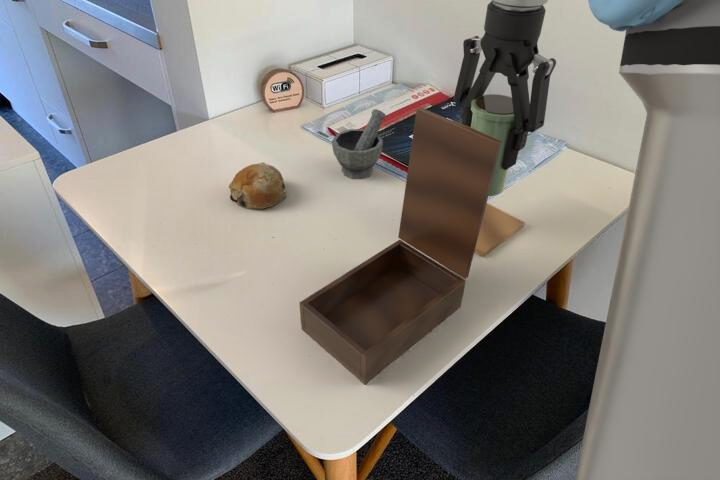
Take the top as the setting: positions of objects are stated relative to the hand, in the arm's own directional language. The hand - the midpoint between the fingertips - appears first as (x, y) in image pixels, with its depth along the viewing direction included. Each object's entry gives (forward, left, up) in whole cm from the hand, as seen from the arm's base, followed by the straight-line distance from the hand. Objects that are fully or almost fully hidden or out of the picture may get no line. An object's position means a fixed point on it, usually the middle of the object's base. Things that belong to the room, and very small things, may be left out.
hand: (488, 156), depth 83 cm
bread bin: (-27, +6, -14) cm, 31 cm away
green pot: (0, 0, -5) cm, 5 cm away
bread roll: (-9, +39, -14) cm, 42 cm away
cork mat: (0, 0, -14) cm, 14 cm away
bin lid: (-17, +2, +2) cm, 18 cm away
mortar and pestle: (+8, +26, -14) cm, 31 cm away
